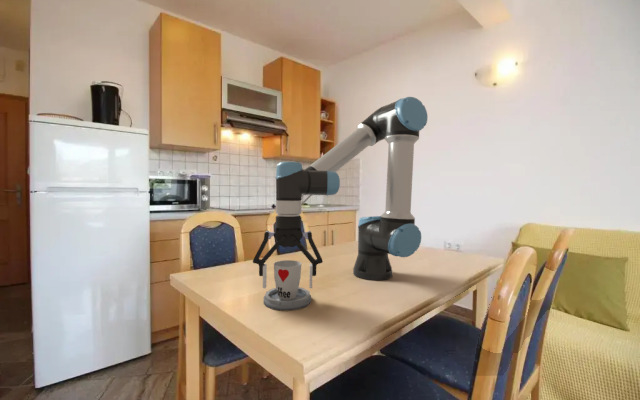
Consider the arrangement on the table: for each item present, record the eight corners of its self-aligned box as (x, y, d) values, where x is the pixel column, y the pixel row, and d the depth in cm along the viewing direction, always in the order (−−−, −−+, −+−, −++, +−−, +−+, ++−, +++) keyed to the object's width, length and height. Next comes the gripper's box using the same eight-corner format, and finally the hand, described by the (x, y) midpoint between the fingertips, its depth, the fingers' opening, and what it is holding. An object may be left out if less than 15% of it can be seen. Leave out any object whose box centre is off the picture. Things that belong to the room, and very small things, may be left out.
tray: (310, 292, 94) (310, 285, 94) (312, 310, 80) (312, 302, 80) (266, 292, 93) (266, 286, 93) (260, 310, 79) (260, 302, 79)
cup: (267, 296, 86) (268, 263, 86) (288, 290, 92) (289, 258, 92) (285, 304, 81) (286, 268, 81) (306, 297, 87) (307, 263, 86)
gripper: (329, 214, 90) (328, 282, 91) (247, 213, 89) (247, 282, 89) (332, 216, 83) (331, 290, 84) (242, 215, 81) (242, 291, 82)
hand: (287, 286), depth 87 cm, fingers open, 13 cm apart
